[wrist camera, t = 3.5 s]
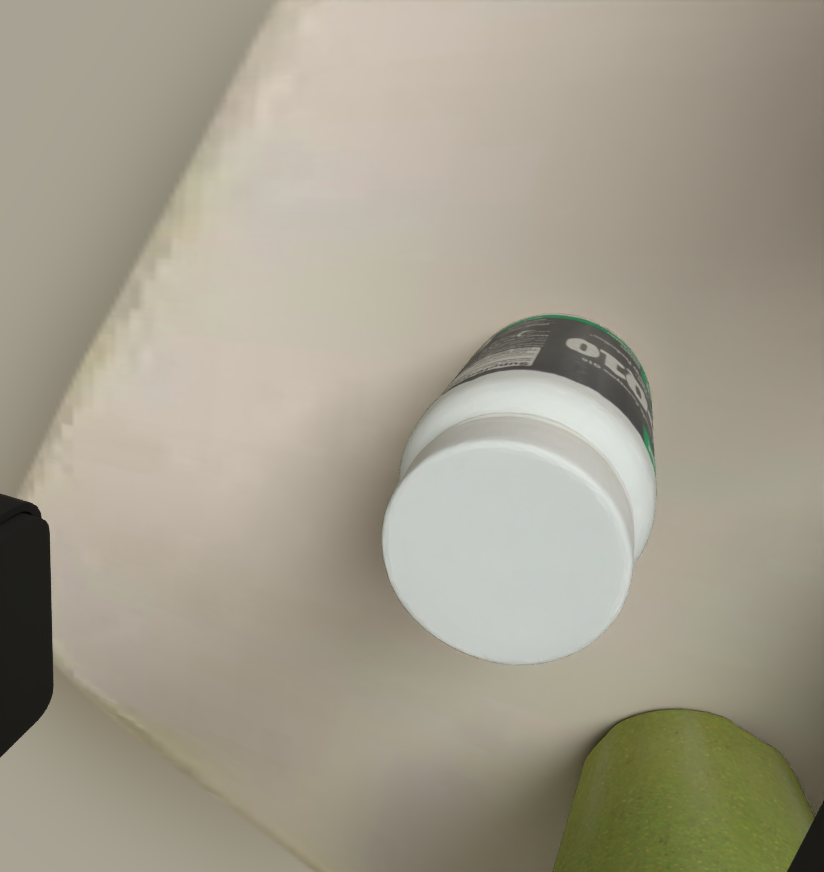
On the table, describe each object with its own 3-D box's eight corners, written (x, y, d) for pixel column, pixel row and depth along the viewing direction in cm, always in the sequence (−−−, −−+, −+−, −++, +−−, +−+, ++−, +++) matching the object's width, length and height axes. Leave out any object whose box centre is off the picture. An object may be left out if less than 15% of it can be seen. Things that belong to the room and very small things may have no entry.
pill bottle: (677, 455, 19) (703, 662, 11) (502, 504, 21) (424, 711, 13) (615, 278, 18) (597, 376, 10) (436, 346, 20) (309, 471, 12)
